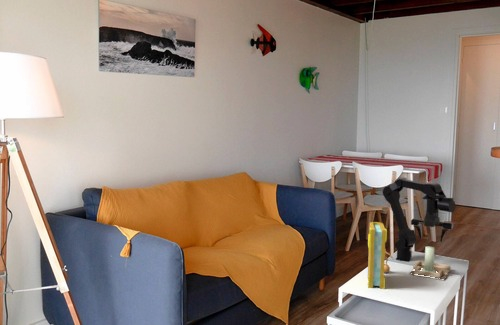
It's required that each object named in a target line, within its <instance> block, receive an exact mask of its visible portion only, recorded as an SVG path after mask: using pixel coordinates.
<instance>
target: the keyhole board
mask: <svg viewBox="0 0 500 325" xmlns="http://www.w3.org/2000/svg"><path fill="white" fill-rule="evenodd" d="M424 265H425V260H424V261H423V260H417V261H416V262H415V264H414V265H413V268H412V270H413V269H415V271H412V270H411V271H410V272H409V274H410V273H412V274H418V275H424V276H430V277H435V278H440V279H445V277H446V276H447V277H448V275H449V274H450V272H451V265H449V264H443V263H436V262H434V269H433V270H435V271H437V272H438V273H432V272H426V271H420V270H421V268H423V269H424ZM448 273H449V274H448ZM447 274H448V275H447ZM447 277H446V278H447ZM445 280H446V279H445Z"/></svg>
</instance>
